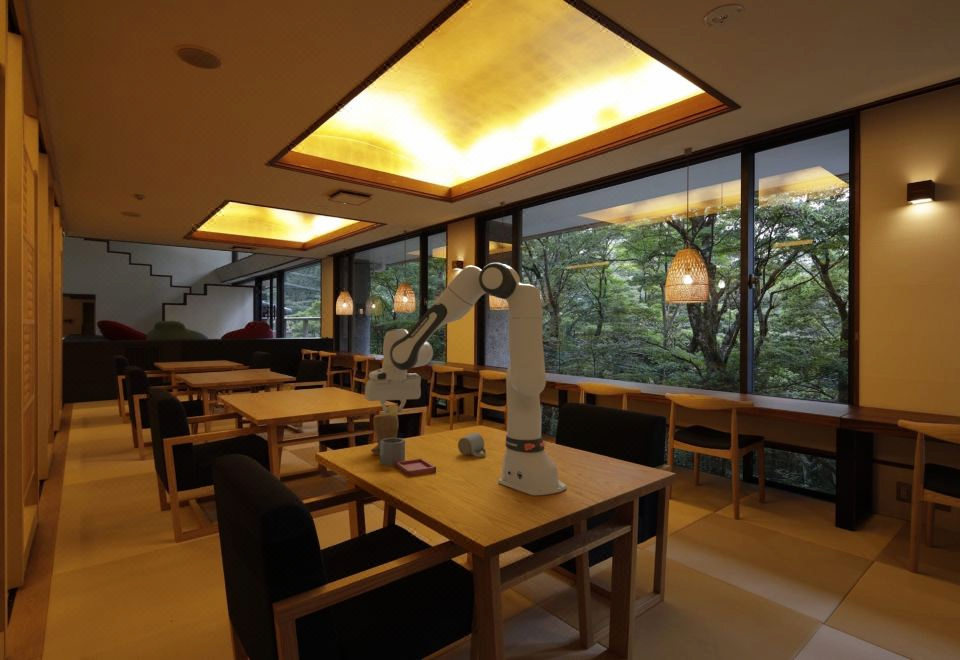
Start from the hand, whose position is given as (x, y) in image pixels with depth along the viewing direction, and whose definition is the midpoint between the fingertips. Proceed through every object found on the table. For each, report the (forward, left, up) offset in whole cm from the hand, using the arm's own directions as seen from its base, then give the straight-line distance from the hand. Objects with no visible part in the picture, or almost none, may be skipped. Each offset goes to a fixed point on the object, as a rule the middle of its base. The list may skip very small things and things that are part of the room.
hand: (392, 412), depth 174 cm
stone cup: (+15, -3, -19) cm, 24 cm away
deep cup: (0, 0, -18) cm, 18 cm away
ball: (0, 0, +1) cm, 1 cm away
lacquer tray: (-11, -4, -18) cm, 22 cm away
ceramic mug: (-4, -32, -19) cm, 37 cm away
